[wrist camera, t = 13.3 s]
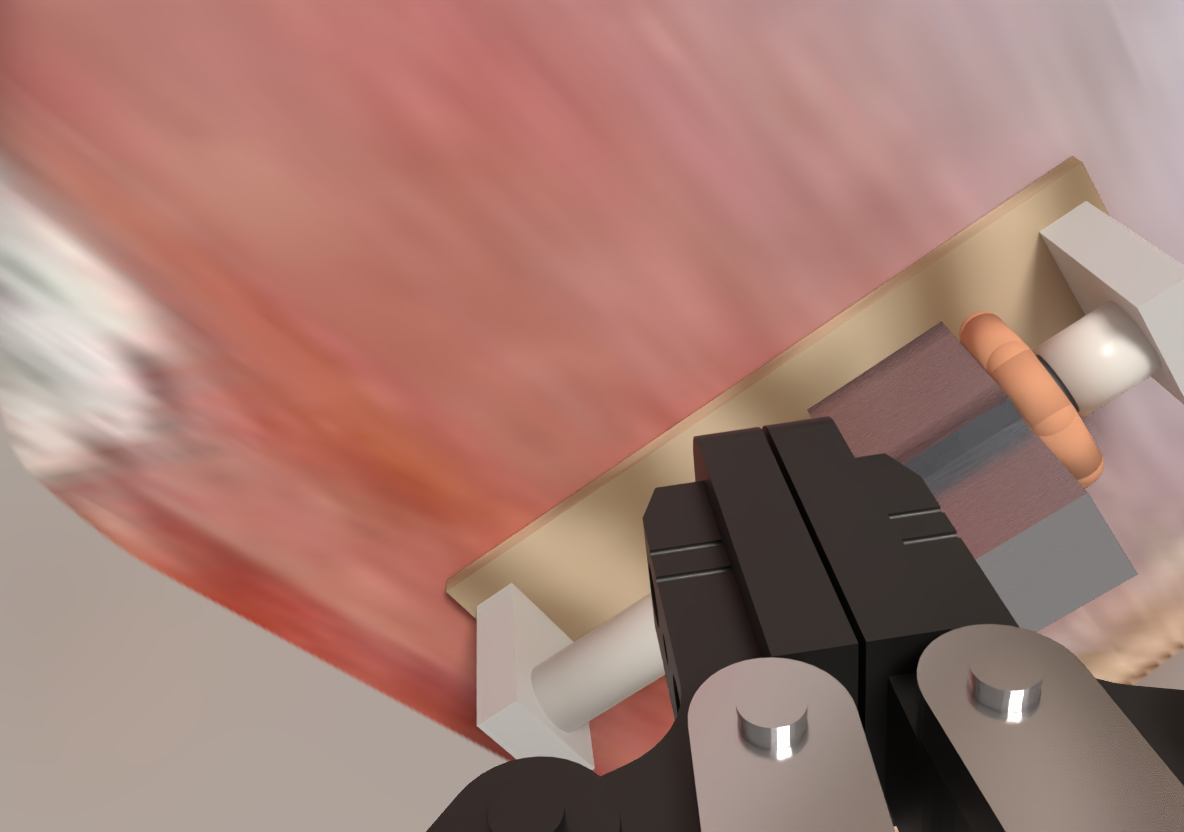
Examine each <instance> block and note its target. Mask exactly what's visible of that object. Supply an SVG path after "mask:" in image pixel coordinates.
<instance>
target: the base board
mask: <svg viewBox="0 0 1184 832" xmlns="http://www.w3.org/2000/svg"><path fill="white" fill-rule="evenodd" d="M1085 201H1087V202H1089V203H1090V204H1092V205H1093V206H1095V207H1096V208H1098V209H1099V210H1101V211H1102V212H1104V213H1105V214H1107V215H1108V216H1110V215H1109V213H1108V211H1107V209H1106V207H1105V206H1104V204H1103V202H1102V200H1101V198H1100V196H1099V194H1098V192H1097V190H1096V188H1095V186H1094V184H1093V182H1092V180H1091V178H1090V176H1089V174H1088V172H1087V170H1086V168H1085V166H1084V164H1083V162H1081V161H1080V160H1078V159H1076V158H1075V157H1073V156H1072V157H1070V158H1069V159H1067V160H1066V161H1064V162H1063V163H1061V164H1060V165H1059V166H1057V167H1056V168H1054V169H1053V170H1051V171H1050V172H1048V173H1047V174H1045V175H1044V176H1042V177H1041V178H1039V179H1038V180H1036V181H1035V182H1033V183H1032V184H1030V185H1029V186H1028V187H1026V188H1025V189H1023V190H1022V191H1020V192H1019V193H1017V194H1016V195H1014V196H1013V197H1011V198H1010V199H1008V200H1007V201H1005V202H1004V203H1002V204H1001V205H1000V206H998V207H997V208H995V209H994V210H992V211H991V212H989V213H988V214H986V215H985V216H983V217H982V218H980V219H979V220H977V221H976V222H974V223H973V224H971V225H970V226H969V227H967V228H966V229H964V230H963V231H961V232H960V233H958V234H957V235H955V236H954V237H952V238H951V239H949V240H948V241H946V242H945V243H943V244H942V245H941V246H939V247H938V248H936V249H935V250H933V251H932V252H930V253H929V254H927V255H926V256H924V257H923V258H921V259H920V260H918V261H917V262H915V263H914V264H913V265H911V266H910V267H908V268H907V269H905V270H904V271H902V272H901V273H899V274H898V275H896V276H895V277H893V278H892V279H890V280H889V281H887V282H886V283H884V284H883V285H882V286H880V287H879V288H877V289H876V290H874V291H873V292H871V293H870V294H868V295H867V296H865V297H864V298H862V299H861V300H859V301H858V302H856V303H855V304H854V305H852V306H851V307H849V308H848V309H846V310H845V311H843V312H842V313H840V314H839V315H837V316H836V317H834V318H833V319H831V320H830V321H828V322H827V323H825V324H824V325H823V326H821V327H820V328H818V329H817V330H815V331H814V332H812V333H811V334H809V335H808V336H806V337H805V338H803V339H802V340H800V341H799V342H797V343H796V344H795V345H793V346H792V347H790V348H789V349H787V350H786V351H784V352H783V353H781V354H780V355H778V356H777V357H775V358H774V359H772V360H771V361H769V362H768V363H766V364H765V365H764V366H762V367H761V368H759V369H758V370H756V371H755V372H753V373H752V374H750V375H749V376H747V377H746V378H744V379H743V380H741V381H740V382H738V383H737V384H736V385H734V386H733V387H731V388H730V389H728V390H727V391H725V392H724V393H722V394H721V395H719V396H718V397H716V398H715V399H713V400H712V401H710V402H709V403H707V404H706V405H705V406H703V407H702V408H700V409H699V410H697V411H696V412H694V413H693V414H691V415H690V416H688V417H687V418H685V419H684V420H682V421H681V422H679V423H678V424H677V425H675V426H674V427H672V428H671V429H669V430H668V431H666V432H665V433H663V434H662V435H660V436H659V437H657V438H656V439H654V440H653V441H651V442H650V443H648V444H647V445H646V446H644V447H643V448H641V449H640V450H638V451H637V452H635V453H634V454H632V455H631V456H629V457H628V458H626V459H625V460H623V461H622V462H620V463H619V464H618V465H616V466H615V467H613V468H612V469H610V470H609V471H607V472H606V473H604V474H603V475H601V476H600V477H598V478H597V479H595V480H594V481H592V482H591V483H589V484H588V485H587V486H585V487H584V488H582V489H581V490H579V491H578V492H576V493H575V494H573V495H572V496H570V497H569V498H567V499H566V500H564V501H563V502H561V503H560V504H559V505H557V506H556V507H554V508H553V509H551V510H550V511H548V512H547V513H545V514H544V515H542V516H541V517H539V518H538V519H536V520H535V521H533V522H532V523H530V524H529V525H528V526H526V527H525V528H523V529H522V530H520V531H519V532H517V533H516V534H514V535H513V536H511V537H510V538H508V539H507V540H505V541H504V542H502V543H501V544H500V545H498V546H497V547H495V548H494V549H492V550H491V551H489V552H488V553H486V554H485V555H483V556H482V557H480V558H479V559H477V560H476V561H474V562H473V563H471V564H470V565H469V566H467V567H466V568H464V569H463V570H461V571H460V572H458V573H457V574H455V575H454V576H452V577H451V578H449V579H448V580H447V582H446V592H447V593H448V594H449V595H450V596H451V597H452V598H454V599H455V600H456V601H457V602H458V603H459V604H460V605H461V606H462V607H463V608H464V609H466V610H467V611H468V612H469V613H470V614H471V615H472V616H473V617H474V618H475V619H477V606H478V605H479V604H481V603H482V602H484V601H485V600H487V599H488V598H490V597H491V596H493V595H494V594H496V593H497V592H499V591H500V590H502V589H503V588H505V587H506V586H508V585H509V584H511V583H513V584H514V585H515V586H516V587H517V588H518V589H519V590H520V591H521V592H522V593H523V594H524V595H525V596H526V597H527V598H528V599H529V600H530V601H532V602H533V603H534V604H535V605H536V606H537V607H538V608H539V609H540V610H541V611H542V612H543V613H544V614H545V615H546V616H547V617H548V618H549V619H550V620H551V621H552V622H553V623H555V624H556V625H557V626H558V627H559V628H560V629H561V630H562V631H563V632H564V633H565V634H566V635H567V636H568V637H569V638H570V639H571V640H572V641H573V642H575V641H576V640H578V639H579V638H581V637H582V636H584V635H586V634H587V633H589V632H590V631H592V630H593V629H595V628H597V627H598V626H600V625H601V624H603V623H604V622H606V621H608V620H609V619H611V618H612V617H614V616H615V615H617V614H619V613H620V612H622V611H623V610H625V609H626V608H628V607H630V606H631V605H633V604H634V603H636V602H637V601H639V600H640V599H642V598H644V597H645V596H647V595H648V594H650V593H651V589H650V580H649V571H648V562H647V554H646V545H645V536H644V527H643V519H642V518H643V516H644V513H645V511H646V509H647V506H648V504H649V501H650V499H651V497H652V494H653V492H654V489H655V488H657V487H664V486H670V485H677V484H684V483H690V482H695V471H694V458H693V438H694V436H700V435H706V434H713V433H720V432H727V431H733V430H740V429H747V428H753V427H760V428H761V429H762V427H763V426H765V425H772V424H779V423H785V422H792V421H799V420H806V419H812V418H811V416H810V414H809V413H808V411H807V409H809V408H810V407H812V406H814V405H815V404H817V403H818V402H820V401H821V400H823V399H824V398H826V397H827V396H829V395H830V394H832V393H833V392H835V391H836V390H838V389H839V388H841V387H842V386H844V385H845V384H847V383H848V382H850V381H851V380H853V379H854V378H856V377H858V376H859V375H861V374H862V373H864V372H865V371H867V370H868V369H870V368H871V367H873V366H874V365H876V364H877V363H879V362H880V361H882V360H883V359H885V358H886V357H888V356H889V355H891V354H892V353H894V352H895V351H897V350H898V349H900V348H901V347H903V346H905V345H906V344H908V343H909V342H911V341H912V340H914V339H915V338H917V337H918V336H920V335H921V334H923V333H924V332H926V331H927V330H929V329H930V328H932V327H933V326H935V325H936V324H938V323H939V322H941V321H942V322H943V323H944V324H945V325H946V326H947V328H948V329H949V330H950V331H951V332H952V333H953V334H954V335H955V337H956V338H957V339H958V340H959V341H960V339H959V330H960V327H961V324H962V323H963V321H964V320H965V319H966V318H967V317H968V316H969V315H971V314H973V313H976V312H981V311H986V312H991V313H993V314H995V315H997V316H998V317H999V318H1000V319H1001V320H1002V321H1003V322H1004V323H1005V324H1006V325H1007V326H1008V327H1009V328H1010V329H1011V330H1012V331H1013V332H1014V333H1015V334H1016V335H1017V336H1018V337H1019V338H1020V339H1021V340H1022V341H1023V342H1024V343H1025V344H1026V345H1027V346H1028V347H1029V348H1030V349H1031V350H1032V351H1033V349H1034V348H1035V347H1037V346H1039V345H1040V344H1042V343H1043V342H1045V341H1046V340H1048V339H1049V338H1051V337H1053V336H1054V335H1056V334H1057V333H1059V332H1060V331H1062V330H1064V329H1065V328H1067V327H1068V326H1070V325H1071V324H1073V323H1075V322H1076V321H1078V320H1079V319H1081V318H1082V317H1084V316H1085V314H1084V312H1083V310H1082V309H1081V307H1080V305H1079V303H1078V301H1077V299H1076V298H1075V296H1074V294H1073V292H1072V290H1071V289H1070V287H1069V285H1068V283H1067V281H1066V280H1065V278H1064V276H1063V274H1062V272H1061V271H1060V269H1059V267H1058V265H1057V263H1056V261H1055V260H1054V258H1053V256H1052V254H1051V252H1050V251H1049V249H1048V247H1047V245H1046V243H1045V242H1044V240H1043V238H1042V236H1041V234H1040V233H1039V232H1040V231H1041V230H1043V229H1044V228H1046V227H1047V226H1049V225H1050V224H1052V223H1053V222H1055V221H1056V220H1058V219H1059V218H1061V217H1062V216H1064V215H1065V214H1067V213H1068V212H1070V211H1071V210H1073V209H1074V208H1076V207H1077V206H1079V205H1080V204H1082V203H1083V202H1085Z"/></svg>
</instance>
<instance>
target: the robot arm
mask: <svg viewBox="0 0 1184 832" xmlns="http://www.w3.org/2000/svg"><path fill="white" fill-rule="evenodd" d="M693 458H694V471H695V482H690V483H684V484H677V485H670V486H664V487H657V488H655V489H654V492H653V494H652V497H651V499H650V501H649V504H648V506H647V509H646V511H645V513H644V516H643V518H642V519H643V527H644V536H645V545H646V554H647V562H648V571H649V580H650V589H651V597H652V606H653V615H654V624H655V629H656V634H657V638H658V643H659V648H660V652H661V657H662V660H663V666H664V671H665V676H666V680H667V685H668V688H669V694H670V699H671V704H672V708H673V713H674V718H675V722H674V723H673V725H672V727H671V729H670V730H669V731H668V733H667V734H666V735H665V737H664V738H663V739H662V740H661V741H660V742H659V743H658V744H657V745H656V746H655V747H654V748H653V749H651V750H650V751H648V752H647V753H646V754H644V755H643V756H642V757H640V758H638V759H636V760H634V761H632V762H631V763H629V764H627V765H625V766H622V767H620V768H618V769H616V770H614V771H612V772H609V773H607V774H605V775H603V776H601V777H600V776H598V775H597V774H596V773H595V772H593V771H592V770H591V769H589V768H587V767H585V766H583V765H581V764H579V763H576V762H573V761H570V760H567V759H563V758H557V757H545V756H536V757H527V758H521V759H517V760H513V761H509V762H506V763H504V764H501V765H499V766H496V767H494V768H492V769H490V770H488V771H487V772H485V773H483V774H481V775H480V776H479V777H477V778H476V779H475V780H473V781H472V782H471V783H469V784H468V785H467V786H466V787H465V788H464V789H463V790H462V791H461V792H460V793H459V794H458V795H457V797H456V798H455V799H454V800H453V801H452V802H451V804H450V805H449V806H448V807H447V808H446V809H445V810H444V812H443V813H442V814H441V815H440V816H439V817H438V819H437V820H436V821H435V822H434V823H433V824H432V826H431V827H430V828H429V829H428V830H427V831H426V832H895V830H894V827H893V826H897V828H898V830H899V832H1184V690H1176V689H1165V688H1154V687H1143V686H1132V685H1125V684H1118V683H1112V682H1108V681H1104V680H1100V679H1096V678H1095V677H1094V676H1093V675H1092V674H1091V673H1090V671H1089V670H1088V669H1087V668H1086V666H1085V665H1084V664H1083V663H1082V662H1081V661H1080V660H1079V659H1078V658H1077V657H1076V656H1075V655H1074V654H1073V653H1072V652H1071V651H1069V650H1068V649H1067V648H1065V647H1064V646H1063V645H1061V644H1059V643H1057V642H1056V641H1054V640H1052V639H1050V638H1048V637H1046V636H1044V635H1041V634H1039V633H1037V632H1033V631H1030V630H1027V629H1024V628H1020V627H1019V626H1018V624H1017V623H1016V621H1015V620H1014V618H1013V617H1012V615H1011V613H1010V612H1009V610H1008V609H1007V607H1006V606H1005V604H1004V603H1003V601H1002V600H1001V598H1000V597H999V595H998V594H997V592H996V591H995V589H994V587H993V586H992V584H991V583H990V581H989V580H988V578H987V577H986V575H985V574H984V572H983V571H982V569H981V568H980V566H979V565H978V563H977V561H976V560H975V558H974V557H973V555H972V554H971V552H970V551H969V549H968V548H967V546H966V545H965V543H964V542H963V540H962V538H958V537H957V531H956V529H955V528H954V526H953V525H952V523H951V522H950V520H949V519H948V517H947V516H946V514H945V512H943V513H942V512H941V508H940V505H939V503H938V502H937V500H936V499H935V497H934V496H933V494H932V493H931V491H930V490H929V488H928V486H927V485H926V483H925V482H924V480H923V479H922V477H921V476H920V475H918V474H917V473H915V472H913V471H912V470H910V469H909V468H907V467H906V466H904V465H903V464H901V463H899V462H898V461H896V460H895V459H893V458H892V457H890V456H889V455H887V454H886V453H883V454H876V455H869V456H862V457H856V458H855V457H854V455H853V453H852V452H851V450H850V448H849V446H848V445H847V443H846V441H845V439H844V438H843V436H842V434H841V432H840V431H839V429H838V427H837V425H836V424H835V422H834V421H833V419H832V418H831V417H829V416H826V417H819V418H812V419H806V420H799V421H792V422H785V423H779V424H772V425H765V426H763V427H762V429H761V428H760V427H753V428H747V429H740V430H733V431H727V432H720V433H713V434H706V435H700V436H694V438H693Z"/></svg>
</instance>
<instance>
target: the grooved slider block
mask: <svg viewBox="0 0 1184 832" xmlns="http://www.w3.org/2000/svg"><path fill="white" fill-rule="evenodd" d="M807 411H808V413H809V414H810V416H811V418H819V417H826V416H829V417H831V418H832V419H833V421H834V422H835V424H836V425H837V427H838V429H839V431H840V432H841V434H842V436H843V438H844V439H845V441H846V443H847V445H848V446H849V448H850V450H851V452H852V453H853V455H854V457H855V458H856V457H862V456H869V455H876V454H883V453H886V454H887V455H889V456H890V457H892V458H893V459H895V460H896V461H898V462H899V463H901V464H903V465H904V466H906V467H907V468H909V469H910V470H912V471H913V472H915V473H917V474H918V475H920V476H921V477H922V479H923V480H924V482H925V483H926V485H927V486H928V488H929V490H930V491H931V493H932V494H933V496H934V497H935V499H936V500H937V502H938V503H939V505H940V508H941V512H942V513H943V512H945V514H946V516H947V517H948V519H949V520H950V522H951V523H952V525H953V526H954V528H955V529H956V531H957V537H958V538H962V540H963V542H964V543H965V545H966V546H967V548H968V549H969V551H970V552H971V554H972V555H973V557H974V558H975V560H976V561H977V563H978V565H979V566H980V568H981V569H982V571H983V572H984V574H985V575H986V577H987V578H988V580H989V581H990V583H991V584H992V586H993V587H994V589H995V591H996V592H997V594H998V595H999V597H1000V598H1001V600H1002V601H1003V603H1004V604H1005V606H1006V607H1007V609H1008V610H1009V612H1010V613H1011V615H1012V617H1013V618H1014V620H1015V621H1016V623H1017V624H1018V626H1019V627H1020V628H1024V629H1027V630H1030V631H1033V632H1037V631H1039V630H1041V629H1043V628H1044V627H1046V626H1048V625H1050V624H1051V623H1053V622H1055V621H1057V620H1058V619H1060V618H1062V617H1064V616H1065V615H1067V614H1069V613H1071V612H1073V611H1074V610H1076V609H1078V608H1080V607H1081V606H1083V605H1085V604H1087V603H1088V602H1090V601H1092V600H1094V599H1095V598H1097V597H1099V596H1101V595H1102V594H1104V593H1106V592H1108V591H1109V590H1111V589H1113V588H1115V587H1116V586H1118V585H1120V584H1122V583H1123V582H1125V581H1127V580H1129V579H1130V578H1132V577H1134V576H1136V575H1137V574H1138V573H1137V572H1136V570H1135V568H1134V567H1133V565H1132V564H1131V562H1130V560H1129V559H1128V557H1127V555H1126V554H1125V552H1124V551H1123V549H1122V547H1121V546H1120V544H1119V542H1118V541H1117V539H1116V538H1115V536H1114V534H1113V533H1112V531H1111V529H1110V528H1109V526H1108V524H1107V523H1106V521H1105V520H1104V518H1103V516H1102V515H1101V513H1100V511H1099V510H1098V508H1097V507H1096V505H1095V503H1094V502H1093V500H1092V498H1091V497H1090V495H1089V494H1088V492H1087V491H1086V490H1085V489H1084V488H1083V486H1082V485H1081V484H1080V483H1079V482H1078V481H1077V480H1076V478H1075V477H1074V476H1073V475H1072V474H1071V473H1070V472H1069V471H1068V469H1067V468H1066V467H1065V466H1064V465H1063V464H1062V463H1061V461H1060V460H1059V459H1058V458H1057V457H1056V456H1055V455H1054V453H1053V452H1052V451H1051V450H1050V449H1049V448H1048V447H1047V445H1046V444H1045V443H1044V442H1043V441H1042V440H1041V439H1040V437H1039V436H1038V435H1037V434H1036V433H1035V432H1034V431H1033V430H1032V428H1031V427H1030V426H1029V425H1028V424H1027V423H1026V422H1025V420H1024V419H1023V418H1022V417H1021V415H1020V414H1019V412H1018V410H1017V409H1016V407H1015V406H1014V404H1013V402H1012V401H1011V399H1010V398H1009V396H1008V395H1007V394H1006V393H1005V392H1004V391H1003V390H1002V388H1001V387H1000V386H999V385H998V384H997V383H996V382H995V381H994V379H993V378H992V377H991V376H990V375H989V374H988V373H987V372H986V370H985V369H984V368H983V367H982V366H981V365H980V364H979V363H978V361H977V360H976V359H975V358H974V357H973V356H972V355H971V354H970V352H969V351H968V350H967V349H966V348H965V347H964V346H963V344H962V343H961V342H960V341H959V340H958V339H957V338H956V337H955V335H954V334H953V333H952V332H951V331H950V330H949V329H948V328H947V326H946V325H945V324H944V323H943V322H942V321H941V322H939V323H938V324H936V325H935V326H933V327H932V328H930V329H929V330H927V331H926V332H924V333H923V334H921V335H920V336H918V337H917V338H915V339H914V340H912V341H911V342H909V343H908V344H906V345H905V346H903V347H901V348H900V349H898V350H897V351H895V352H894V353H892V354H891V355H889V356H888V357H886V358H885V359H883V360H882V361H880V362H879V363H877V364H876V365H874V366H873V367H871V368H870V369H868V370H867V371H865V372H864V373H862V374H861V375H859V376H858V377H856V378H854V379H853V380H851V381H850V382H848V383H847V384H845V385H844V386H842V387H841V388H839V389H838V390H836V391H835V392H833V393H832V394H830V395H829V396H827V397H826V398H824V399H823V400H821V401H820V402H818V403H817V404H815V405H814V406H812V407H810V408H809V409H807Z"/></svg>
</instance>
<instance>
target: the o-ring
mask: <svg viewBox="0 0 1184 832" xmlns="http://www.w3.org/2000/svg"><path fill="white" fill-rule="evenodd" d="M959 339H960V342H961V343H962V344H963V346H964V347H965V348H966V349H967V350H968V351H969V352H970V354H971V355H972V356H973V357H974V358H975V359H976V360H977V361H978V363H979V364H980V365H981V366H982V367H983V368H984V369H985V370H986V372H987V373H988V374H989V375H990V376H991V377H992V378H993V379H994V381H995V382H996V383H997V384H998V385H999V386H1000V387H1001V388H1002V390H1003V391H1004V392H1005V393H1006V394H1007V395H1008V396H1009V398H1010V399H1011V401H1012V402H1013V404H1014V406H1015V407H1016V409H1017V410H1018V412H1019V414H1020V415H1021V417H1022V418H1023V419H1024V420H1025V422H1026V423H1027V424H1028V425H1029V426H1030V427H1031V428H1032V430H1033V431H1034V432H1035V433H1036V434H1037V435H1038V436H1039V437H1040V439H1041V440H1042V441H1043V442H1044V443H1045V444H1046V445H1047V447H1048V448H1049V449H1050V450H1051V451H1052V452H1053V453H1054V455H1055V456H1056V457H1057V458H1058V459H1059V460H1060V461H1061V463H1062V464H1063V465H1064V466H1065V467H1066V468H1067V469H1068V471H1069V472H1070V473H1071V474H1072V475H1073V476H1074V477H1075V478H1076V480H1077V481H1078V482H1079V483H1080V484H1081V485H1082V486H1083V488H1084V489H1085V488H1087V487H1089V486H1090V485H1092V484H1093V483H1094V482H1095V481H1096V480H1097V479H1098V478H1099V477H1100V475H1101V474H1102V471H1103V468H1104V460H1103V456H1102V454H1101V452H1100V450H1099V448H1098V447H1097V445H1096V443H1095V442H1094V440H1093V438H1092V436H1091V435H1090V433H1089V431H1088V430H1087V428H1086V426H1085V425H1084V423H1083V421H1082V420H1081V418H1080V416H1079V414H1078V413H1077V411H1076V409H1075V408H1074V406H1073V405H1072V403H1071V402H1070V401H1069V399H1068V398H1067V397H1066V395H1065V394H1064V393H1063V391H1062V390H1061V389H1060V387H1059V386H1058V385H1057V383H1056V382H1055V381H1054V379H1053V378H1052V377H1051V375H1050V374H1049V373H1048V371H1047V370H1046V369H1045V367H1044V366H1043V365H1042V363H1041V362H1040V361H1039V359H1038V358H1037V357H1036V355H1035V354H1034V353H1033V351H1032V350H1031V349H1030V348H1029V347H1028V346H1027V345H1026V344H1025V343H1024V342H1023V341H1022V340H1021V339H1020V338H1019V337H1018V336H1017V335H1016V334H1015V333H1014V332H1013V331H1012V330H1011V329H1010V328H1009V327H1008V326H1007V325H1006V324H1005V323H1004V322H1003V321H1002V320H1001V319H1000V318H999V317H998V316H997V315H995V314H993V313H991V312H986V311H981V312H976V313H973V314H971V315H969V316H968V317H967V318H966V319H965V320H964V321H963V323H962V324H961V327H960V330H959Z"/></svg>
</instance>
